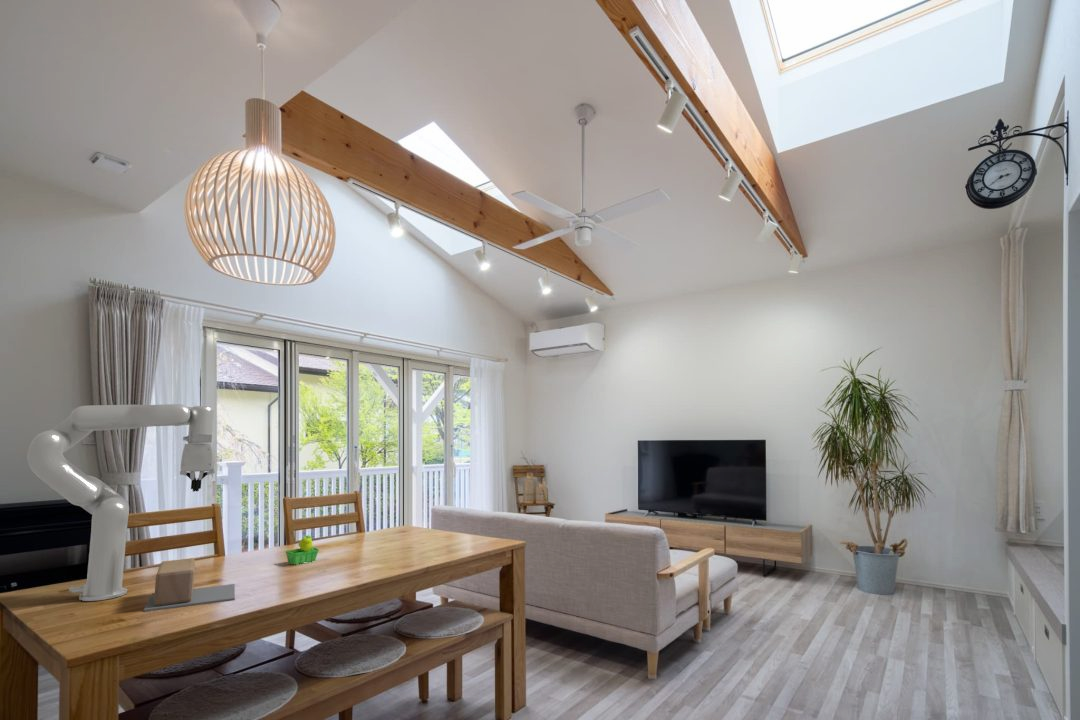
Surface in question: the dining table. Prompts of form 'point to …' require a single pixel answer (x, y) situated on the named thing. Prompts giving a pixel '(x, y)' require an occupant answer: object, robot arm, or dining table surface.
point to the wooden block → (174, 582)
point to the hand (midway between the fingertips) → (195, 491)
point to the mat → (200, 597)
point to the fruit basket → (303, 552)
